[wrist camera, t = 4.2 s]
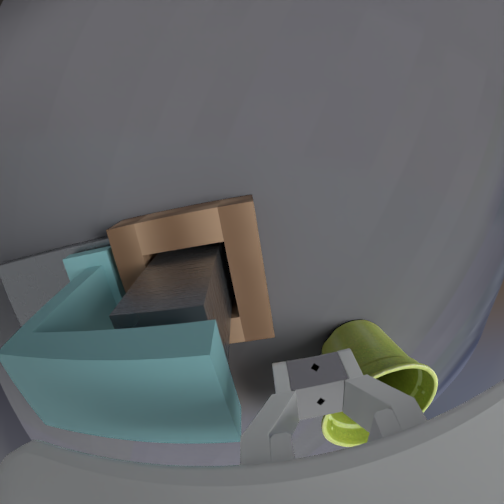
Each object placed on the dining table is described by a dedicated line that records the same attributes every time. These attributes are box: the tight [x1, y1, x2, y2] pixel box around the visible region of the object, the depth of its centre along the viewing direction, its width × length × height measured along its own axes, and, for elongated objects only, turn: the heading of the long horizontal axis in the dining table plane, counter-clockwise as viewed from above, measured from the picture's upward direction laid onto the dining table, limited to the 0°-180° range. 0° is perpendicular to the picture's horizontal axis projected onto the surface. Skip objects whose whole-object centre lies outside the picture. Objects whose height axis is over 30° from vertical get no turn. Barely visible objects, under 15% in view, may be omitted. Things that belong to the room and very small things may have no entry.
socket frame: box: [0, 195, 275, 344], centre depth 21 cm, size 27×10×3 cm, turn 99°
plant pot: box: [321, 320, 438, 447], centre depth 21 cm, size 9×9×9 cm
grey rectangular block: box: [109, 242, 233, 362], centre depth 17 cm, size 5×5×10 cm
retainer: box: [0, 246, 241, 444], centre depth 15 cm, size 13×7×12 cm, turn 99°
